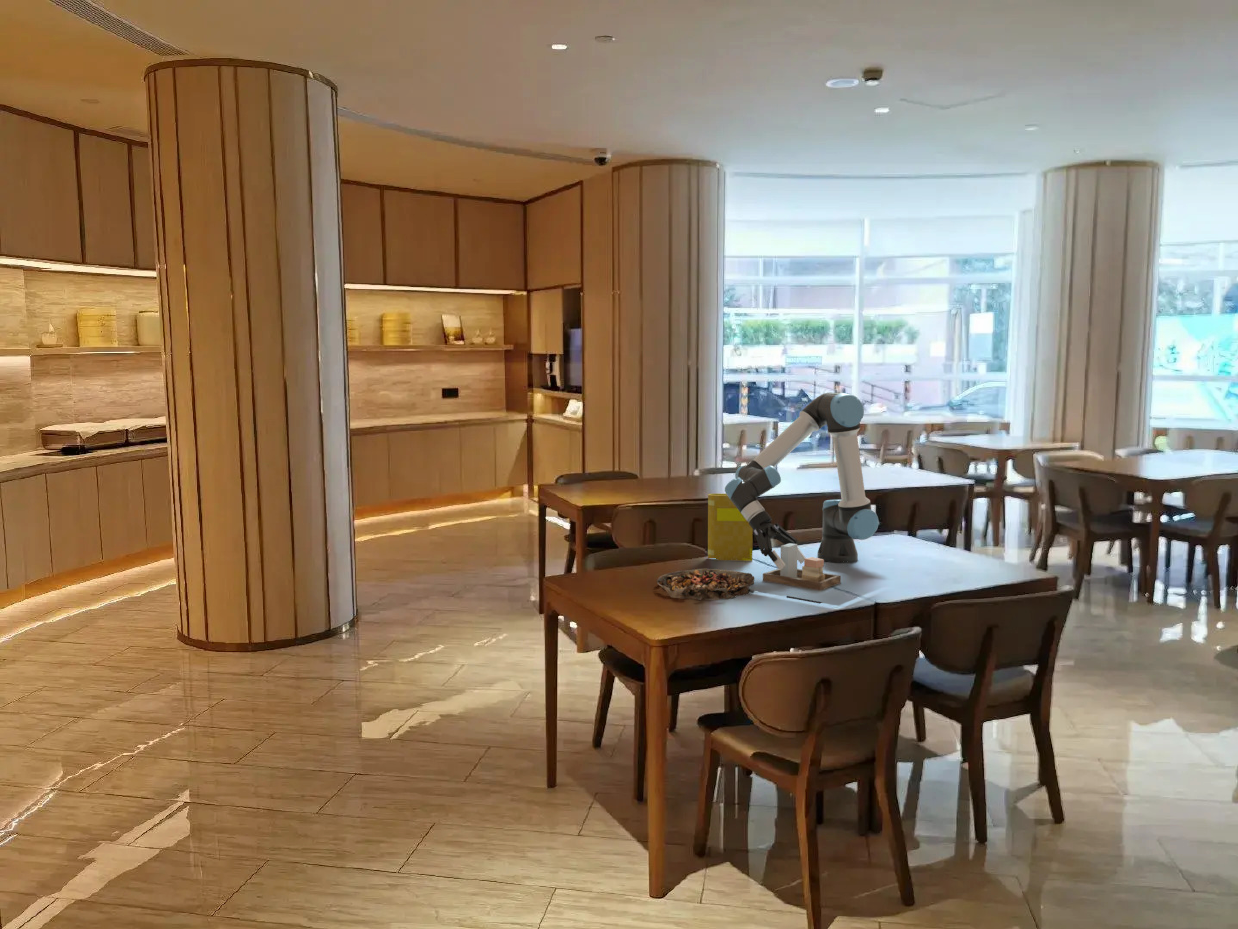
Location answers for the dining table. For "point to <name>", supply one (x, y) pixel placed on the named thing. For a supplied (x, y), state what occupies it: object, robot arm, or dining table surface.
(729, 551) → the book
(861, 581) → the dining table surface
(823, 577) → the offcut
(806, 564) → the offcut
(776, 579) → the wooden tray
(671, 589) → the food dish
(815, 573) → the offcut
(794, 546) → the white rectangular block
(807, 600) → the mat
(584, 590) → the dining table surface
